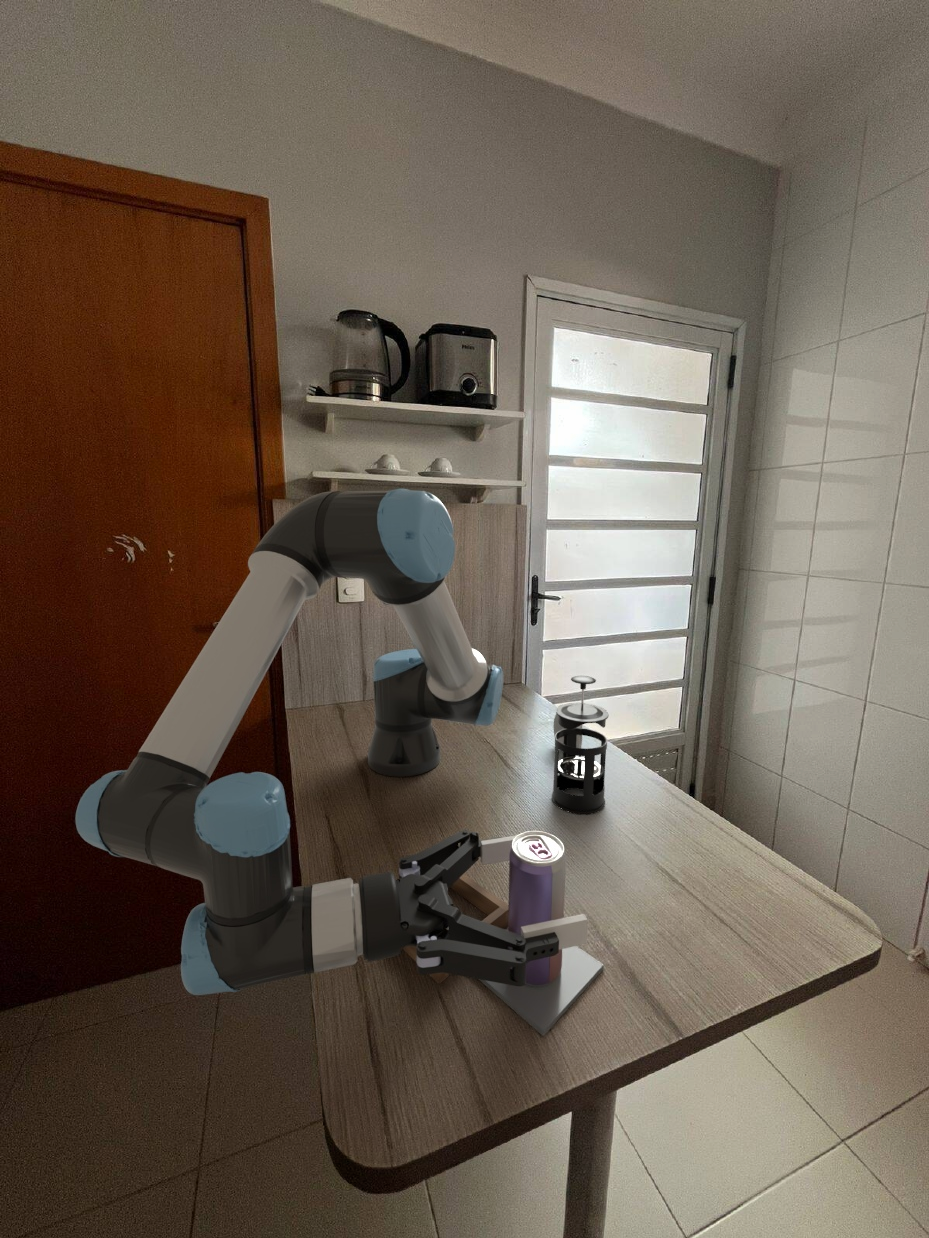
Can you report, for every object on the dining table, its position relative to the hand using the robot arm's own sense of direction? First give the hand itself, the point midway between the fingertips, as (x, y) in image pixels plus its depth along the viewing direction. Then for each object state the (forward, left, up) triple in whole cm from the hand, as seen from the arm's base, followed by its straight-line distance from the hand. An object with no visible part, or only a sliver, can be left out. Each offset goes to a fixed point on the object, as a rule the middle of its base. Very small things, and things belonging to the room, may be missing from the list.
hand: (556, 881), depth 57 cm
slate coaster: (-1, -2, -11) cm, 11 cm away
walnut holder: (-13, -5, -11) cm, 18 cm away
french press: (-18, +32, -11) cm, 38 cm away
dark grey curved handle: (-30, +46, -11) cm, 56 cm away
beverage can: (-1, -2, -10) cm, 10 cm away
